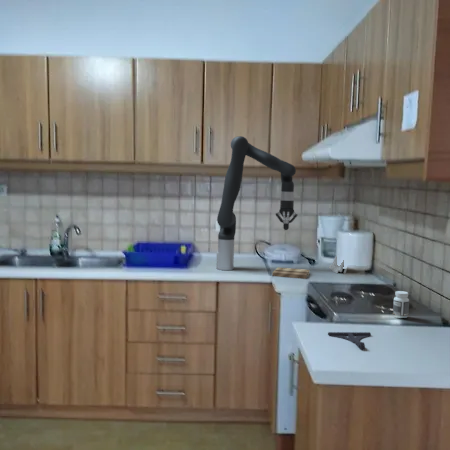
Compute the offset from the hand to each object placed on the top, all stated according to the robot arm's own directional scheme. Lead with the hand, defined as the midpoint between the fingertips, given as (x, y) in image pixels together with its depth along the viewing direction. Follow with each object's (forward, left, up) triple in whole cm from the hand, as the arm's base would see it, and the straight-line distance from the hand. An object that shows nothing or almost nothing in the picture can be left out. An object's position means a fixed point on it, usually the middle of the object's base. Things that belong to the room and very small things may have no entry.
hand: (286, 229), depth 278 cm
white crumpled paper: (+30, +10, -23) cm, 39 cm away
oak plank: (+6, -9, -23) cm, 25 cm away
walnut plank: (+6, -18, -23) cm, 30 cm away
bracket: (+43, -114, -24) cm, 124 cm away
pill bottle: (+59, -78, -23) cm, 101 cm away
